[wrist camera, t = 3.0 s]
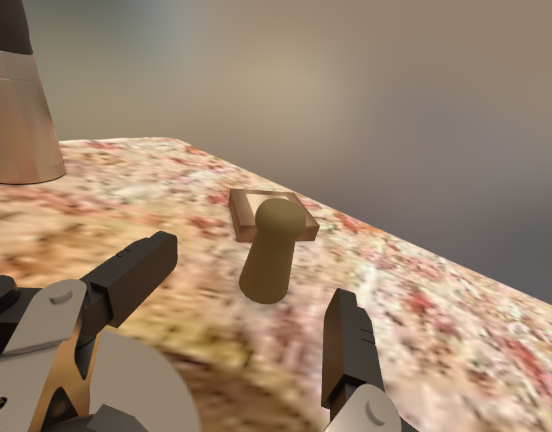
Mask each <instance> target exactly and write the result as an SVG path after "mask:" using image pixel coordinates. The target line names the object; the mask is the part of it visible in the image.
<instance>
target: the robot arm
mask: <svg viewBox="0 0 552 432" xmlns="http://www.w3.org/2000/svg"><path fill="white" fill-rule="evenodd" d="M65 173H66V168H65V165H64V160H63V157H62V154H61V150H60V146H59V143H58V139H57V136H56V132H55V129H54V125H53V122H52V119H51V115H50V111H49V108H48V104H47V101H46V97H45V94H44V90H43V87H42V83H41V80H40V76H39V73H38V69H37V66H36V62H35V59H34V55H33V51H32V47H31V44H30V39H29V29H28V24H27V19H26V15H25V11H24V8H23V3H22V0H0V183H9V184H26V183H37V182H43V181H49V180H52V179H56V178H58V177H61V176H62V175H64V174H65ZM177 260H178V255H177V237H176V236H175V235H173V234H170V233H166V232H163V231H158V232H157V233H155V234H154V235H153V236H151V237H150V238H143V239H141V240H138V241H135V242H133V243H132V244H130V245H129V246H127V247H126V248H124V250H121V251H120V252H119V253H117V254H116V255H115V256H113V257H111V258H110V259H108V260H107V261H105V262H104V263H103V264H101V265H100V266H98V267H97V268H95V269H94V270H92V271H91V272H89V273H88V274H87V275H85V276H84V277H82V278H81V279H79V280H75V279H69V280H62V281H59V282H55V283H53V284H50V285H48V286H46V287H45V288H22V287H17V285H16V283H15V281H14V279H13V278H12V277H9V276H5V275H0V432H148V431H147V430H146V429H145V428H144V427H143V426H142V425H141V423H139V422H138V421H137V419H136V418H135V417H133V416H131V415H129V414H126V413H124V412H122V411H119V410H117V409H114V408H112V407H109V406H107V405H105V404H103V405H102V406H101V408H100V409H99V410H98V412H97V413H96V414H89V406H90V382H91V377H92V372H93V368H94V363H95V358H96V354H97V349H98V345H99V340H100V335H101V332H100V331H101V330H102V329H103V328H104V327H105V326H106V325H109V326H112V327H115V328H118V327H119V326H120V325H121V324H122V323H123V322H124V321H125V320H126V319H127V318H128V317H129V316H130V315H131V314H132V313H133V312H134V311H135V310H136V309H137V307H138V306H139V305H140V304H141V303H142V302H143V301H144V300H145V299H146V298H147V297H148V296H149V295H150V294H151V293H152V292H153V291H154V290H155V289H156V288H157V287H158V286H159V285H160V284H161V283H162V282H163V280H164V279H165V278H166V277H167V276H168V275H169V274H170V273H171V272H172V271H173V270H174V268H175V266H176V264H177ZM321 407H324V408H327V409H329V410H330V423H329V424H328V425H327V427H326V428H325V429H324V431H323V432H419V431H417V430H416V429H415V428H413V427H412V426H411V425H409V424H408V423H407V422H406V421H405V420H403V419H402V418H401V417H400V415H399V413H398V411H397V409H396V407H395V405H394V403H393V402H392V401H391V399H390V398H389V397H388V396H387V395H386V393H385V390H384V385H383V380H382V375H381V370H380V364H379V359H378V354H377V349H376V346H375V338H374V335H373V328H372V322H371V320H370V318H369V316H368V314H367V313H366V311H365V309H363V308H360V307H357V301H356V295H355V293H353V292H350V291H346V290H343V289H340V288H337V290H336V291H335V293H334V295H333V297H332V300H331V302H330V304H329V306H328V308H327V310H326V313H325V317H324V331H323V363H322V395H321ZM88 414H89V415H88Z"/></svg>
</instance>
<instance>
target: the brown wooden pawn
mask: <svg viewBox="0 0 552 432" xmlns="http://www.w3.org/2000/svg"><path fill="white" fill-rule="evenodd" d="M255 226H256V228H257V233H256V236H255V238H254V241H253V244H252V246H251V249H250V252H249V254H248V257H247V260H246V262H245V265H244V268H243V270H242V273H241V276H240V281H239V285H240V288H241V290H242V292H243V293H244V294H245V295H246V296H247V297H248V298H249V299H251V300H252V301H255V302H258V303H261V304H272V303H276V302H278V301H280V300H281V299H283V298H284V296H285V295H286V294H287V290H288V284H289V278H290V272H291V265H292V259H293V252H294V246H295V240H297V239H298V238H299V237H300V236H301V235H302V233H303V232H304V229H305V226H306V216H305V213H304V210H303V209H302V208H301V207H300V206H299V205H297V204H296V203H294V202H292V201H290V200H286V199H282V198H272V199H267V200H265V201H263V202H262V203H261V204H260V205H259V207H258V209H257V211H256V214H255Z"/></svg>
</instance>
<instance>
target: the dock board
mask: <svg viewBox="0 0 552 432" xmlns="http://www.w3.org/2000/svg"><path fill="white" fill-rule="evenodd" d="M272 198H282V199H286V200H290V201H292V202H294V203H296V204H297V205H299V206H300V207H301V208H302V209H303V210H304V213H305V216H306V226H305V229H304V232H303V233H302V235H301V236H300V237H299V238H298V239H297V240H295V241H313V240H315V238H316V235H317V232H318V230H319V227H320V225H319V224H318V223H317V222H316V220H315V219H314V218H313V217H312V215H311V214H310V213H309V211H308V210H307V209H306V208H305V206H304V205H303V204H302V203H301V201H300V200H299V199H298V197H297V196H296V195H295V194H294V193H290V192H275V191H261V190H246V189H231V188H230V196H229V206H230V210H231V214H232V218H233V223H234V227H235V231H236V235H237V240H238V242H253V241H254V238H255V236H256V233H257V228H256V226H255V214H256V211H257V209H258V207H259V205H260V204H261V203H262V202H263V201H265V200H267V199H272Z"/></svg>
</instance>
